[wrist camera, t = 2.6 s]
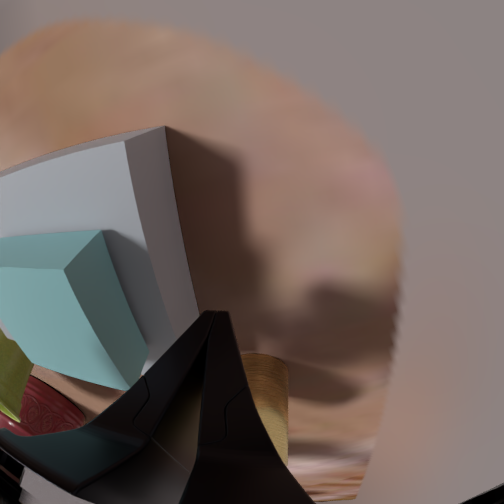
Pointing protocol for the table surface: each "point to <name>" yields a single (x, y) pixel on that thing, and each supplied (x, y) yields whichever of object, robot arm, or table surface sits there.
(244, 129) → the table surface
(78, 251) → the teal block
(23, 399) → the canister
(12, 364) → the plant pot
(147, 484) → the robot arm
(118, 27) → the table surface
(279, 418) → the brass cylinder
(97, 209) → the jig
